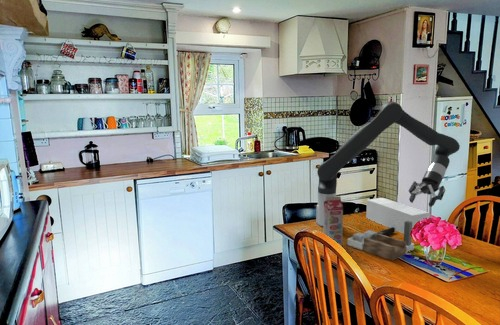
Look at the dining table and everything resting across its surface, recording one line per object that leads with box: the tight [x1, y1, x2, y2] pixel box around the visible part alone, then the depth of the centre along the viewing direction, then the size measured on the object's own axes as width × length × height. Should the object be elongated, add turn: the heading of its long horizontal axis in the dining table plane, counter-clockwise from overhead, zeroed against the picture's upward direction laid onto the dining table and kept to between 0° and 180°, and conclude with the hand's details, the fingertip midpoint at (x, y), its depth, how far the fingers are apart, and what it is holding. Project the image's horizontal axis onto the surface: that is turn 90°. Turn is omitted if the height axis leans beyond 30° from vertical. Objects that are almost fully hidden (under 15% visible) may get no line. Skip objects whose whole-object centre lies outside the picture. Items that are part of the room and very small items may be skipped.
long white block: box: [365, 197, 430, 235], centre depth 186 cm, size 32×11×11 cm, turn 21°
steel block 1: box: [352, 232, 364, 243], centre depth 162 cm, size 4×4×4 cm
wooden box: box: [363, 233, 406, 261], centre depth 153 cm, size 14×10×6 cm
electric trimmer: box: [377, 227, 396, 237], centre depth 173 cm, size 4×16×3 cm, turn 126°
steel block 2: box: [363, 230, 378, 241], centre depth 158 cm, size 4×4×4 cm
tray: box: [346, 236, 364, 251], centre depth 162 cm, size 8×10×3 cm
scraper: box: [403, 221, 415, 253], centre depth 155 cm, size 3×6×12 cm, turn 128°
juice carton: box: [322, 196, 344, 247], centre depth 162 cm, size 7×7×22 cm
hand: (420, 203), depth 160 cm, fingers open, 8 cm apart
